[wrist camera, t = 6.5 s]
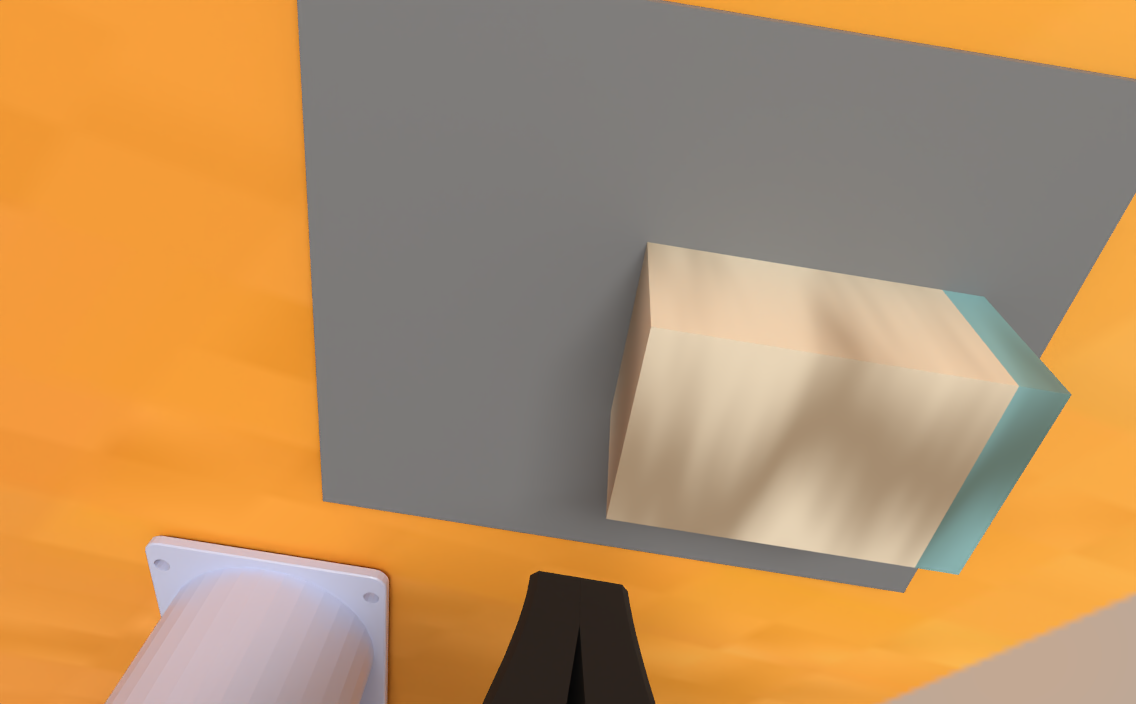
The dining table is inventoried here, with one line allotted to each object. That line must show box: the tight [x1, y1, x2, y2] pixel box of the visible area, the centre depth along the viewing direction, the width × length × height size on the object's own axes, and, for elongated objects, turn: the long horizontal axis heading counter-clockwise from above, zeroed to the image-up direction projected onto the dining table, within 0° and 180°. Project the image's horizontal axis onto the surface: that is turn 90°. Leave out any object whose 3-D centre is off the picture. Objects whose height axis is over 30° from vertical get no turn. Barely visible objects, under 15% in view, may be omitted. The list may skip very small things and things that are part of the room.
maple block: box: [606, 242, 1071, 575], centre depth 17 cm, size 5×4×8 cm
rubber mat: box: [297, 0, 1136, 593], centre depth 19 cm, size 15×18×1 cm
